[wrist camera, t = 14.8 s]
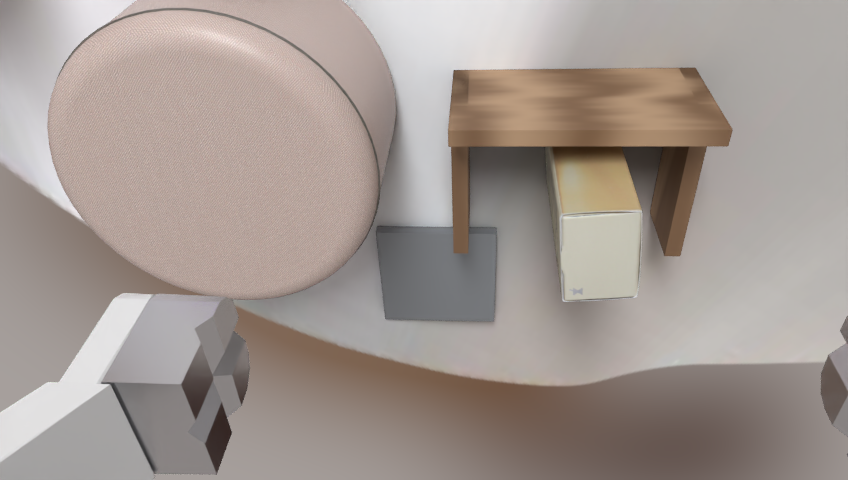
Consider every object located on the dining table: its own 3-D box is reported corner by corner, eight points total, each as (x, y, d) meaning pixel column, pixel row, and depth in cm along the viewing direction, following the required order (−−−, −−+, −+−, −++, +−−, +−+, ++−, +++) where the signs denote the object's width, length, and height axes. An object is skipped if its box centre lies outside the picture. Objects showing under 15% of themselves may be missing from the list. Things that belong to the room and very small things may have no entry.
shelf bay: (695, 67, 42) (732, 129, 35) (664, 212, 48) (690, 286, 42) (453, 70, 43) (448, 130, 37) (456, 211, 50) (451, 282, 43)
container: (151, 186, 50) (76, 290, 41) (106, -69, 39) (-11, -5, 30) (389, 216, 50) (367, 327, 41) (411, -30, 39) (387, 46, 30)
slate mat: (496, 227, 50) (496, 234, 50) (494, 314, 56) (493, 321, 55) (377, 226, 51) (376, 232, 50) (386, 312, 57) (385, 319, 56)
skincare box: (608, 185, 47) (639, 304, 38) (546, 189, 48) (561, 307, 38) (611, 102, 44) (646, 210, 34) (543, 108, 44) (559, 216, 35)
